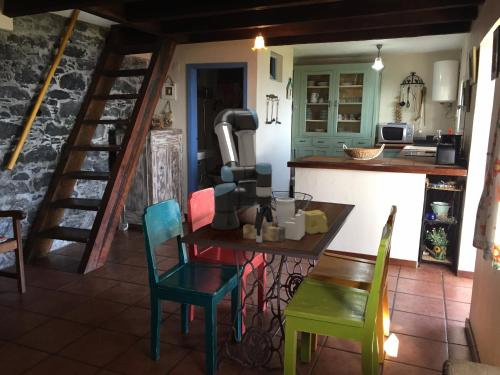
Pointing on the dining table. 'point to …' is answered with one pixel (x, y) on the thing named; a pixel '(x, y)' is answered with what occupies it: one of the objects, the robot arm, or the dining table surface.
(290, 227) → the white u-channel bracket
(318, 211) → the cheese
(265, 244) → the dining table surface
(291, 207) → the white cup
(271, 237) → the rail
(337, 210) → the dining table surface
